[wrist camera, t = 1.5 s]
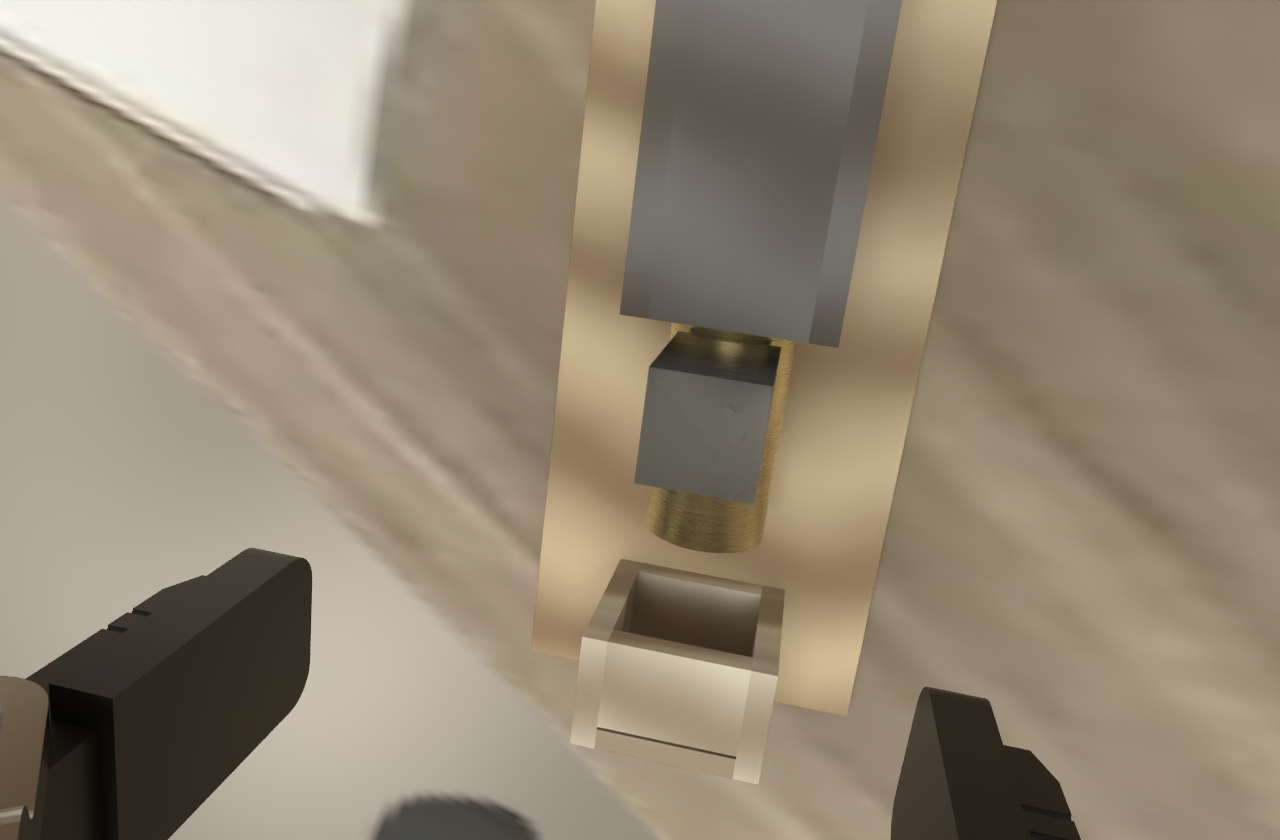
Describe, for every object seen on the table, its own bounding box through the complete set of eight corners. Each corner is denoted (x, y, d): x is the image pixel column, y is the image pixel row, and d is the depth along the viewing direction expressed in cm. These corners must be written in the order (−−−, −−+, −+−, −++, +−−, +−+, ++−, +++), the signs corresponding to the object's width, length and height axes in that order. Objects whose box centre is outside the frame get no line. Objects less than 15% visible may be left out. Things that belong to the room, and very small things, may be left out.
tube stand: (619, -164, 30) (561, -258, 23) (1019, -131, 28) (1082, -222, 21) (538, 638, 37) (477, 742, 31) (846, 701, 36) (852, 825, 29)
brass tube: (728, -42, 28) (691, -122, 20) (859, -29, 27) (875, -106, 19) (655, 497, 33) (603, 606, 25) (766, 517, 32) (748, 635, 24)
